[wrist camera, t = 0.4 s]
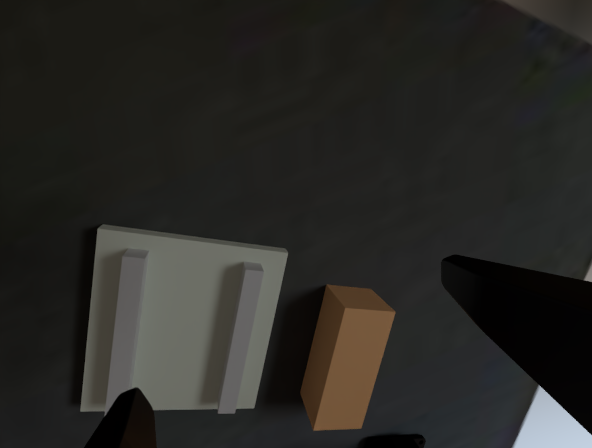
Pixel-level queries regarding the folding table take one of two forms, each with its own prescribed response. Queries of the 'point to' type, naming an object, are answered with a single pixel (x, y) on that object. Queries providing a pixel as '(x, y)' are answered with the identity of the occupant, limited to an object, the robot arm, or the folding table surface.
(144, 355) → the deck plate
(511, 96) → the folding table surface
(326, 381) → the chute block
